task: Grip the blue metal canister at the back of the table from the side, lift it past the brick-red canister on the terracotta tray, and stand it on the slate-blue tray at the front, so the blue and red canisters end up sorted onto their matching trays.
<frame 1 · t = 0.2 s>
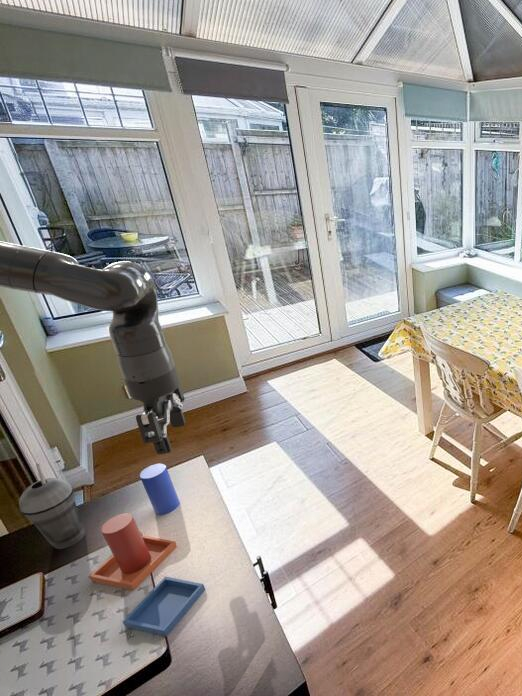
hand: (172, 438, 83), 21 cm above the table, tool pointing down, fingers open, 8 cm apart
terracotta tray: (137, 564, 80), on the table
blue tray: (167, 609, 73), on the table
blue canister: (168, 508, 92), on the table
red canister: (136, 563, 80), resting on terracotta tray
beverage cup: (70, 541, 85), on the table
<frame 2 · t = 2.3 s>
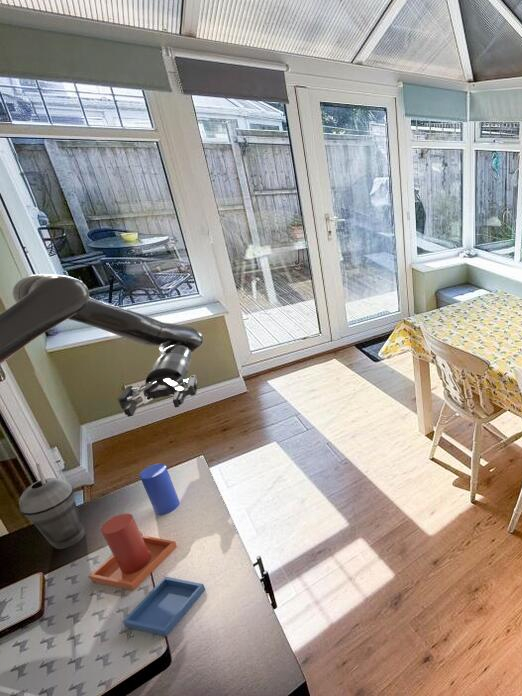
hand: (152, 408, 93), 20 cm above the table, tool horizontal, fingers open, 8 cm apart
nothing on the table moved.
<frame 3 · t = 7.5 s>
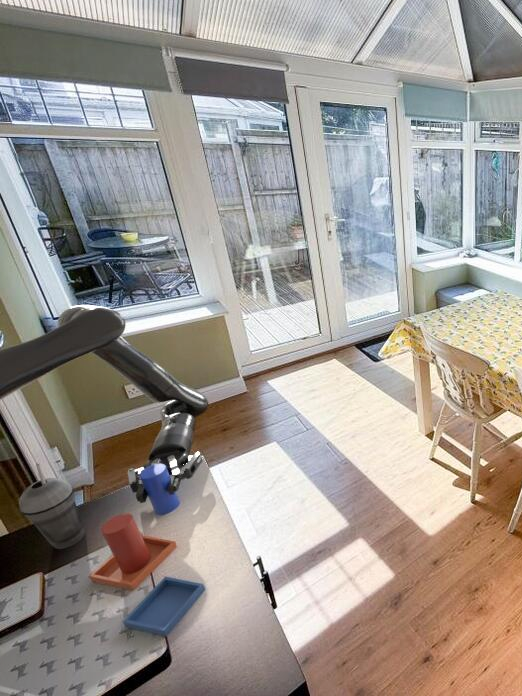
hand: (156, 495, 88), 7 cm above the table, tool horizontal, fingers closed on blue canister, 4 cm apart
blue canister: (168, 508, 92), on the table, touching gripper
everything else where it was.
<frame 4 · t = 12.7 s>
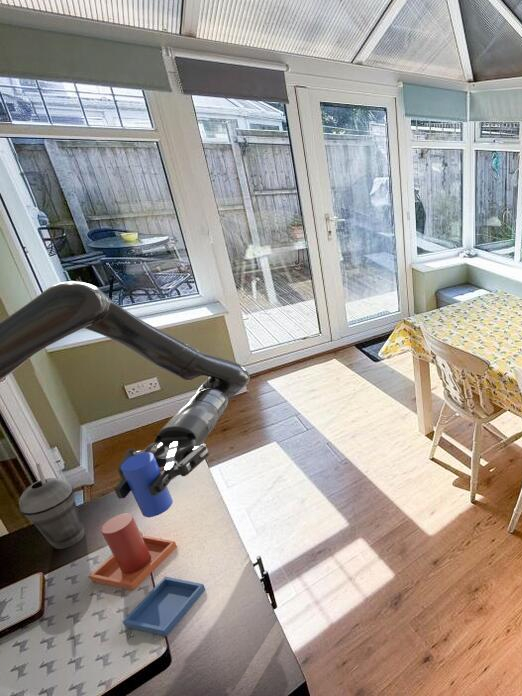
hand: (136, 493, 70), 21 cm above the table, tool horizontal, fingers closed on blue canister, 4 cm apart
blue canister: (157, 507, 75), point 15 cm above the table, touching gripper
everything else where it was.
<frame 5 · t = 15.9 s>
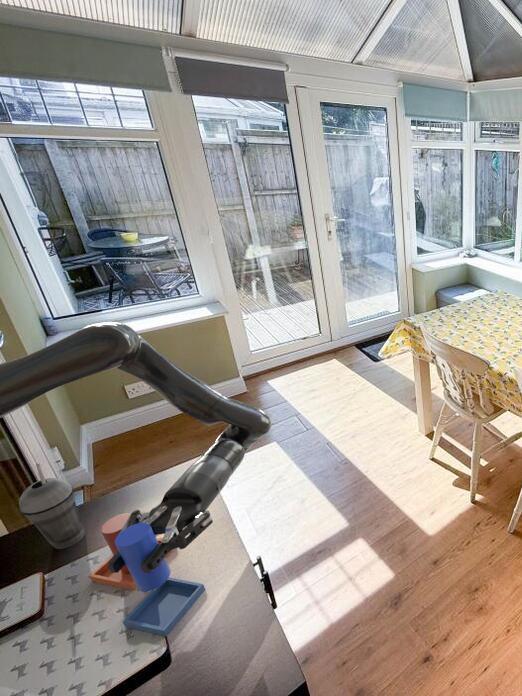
hand: (128, 569, 65), 15 cm above the table, tool horizontal, fingers closed on blue canister, 4 cm apart
blue canister: (154, 578, 70), point 8 cm above the table, touching gripper
everything else where it was.
when the fingers open (7 cm above the table, at t = 18.3 s): blue canister stays where it is, resting on blue tray.
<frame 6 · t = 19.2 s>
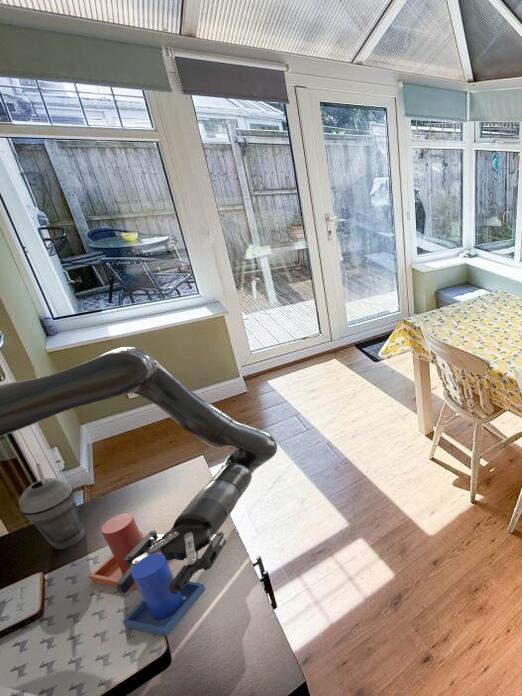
hand: (146, 590, 69), 8 cm above the table, tool horizontal, fingers open, 8 cm apart
blue canister: (167, 606, 73), resting on blue tray
everything else where it was.
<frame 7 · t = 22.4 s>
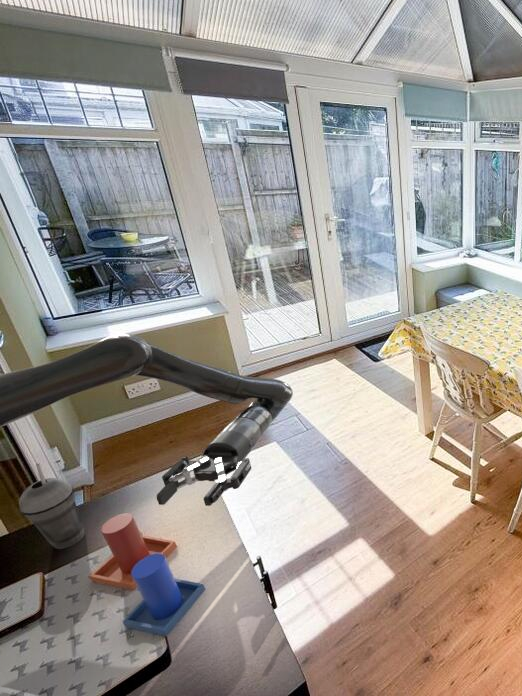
hand: (183, 502, 76), 15 cm above the table, tool horizontal, fingers open, 8 cm apart
nothing on the table moved.
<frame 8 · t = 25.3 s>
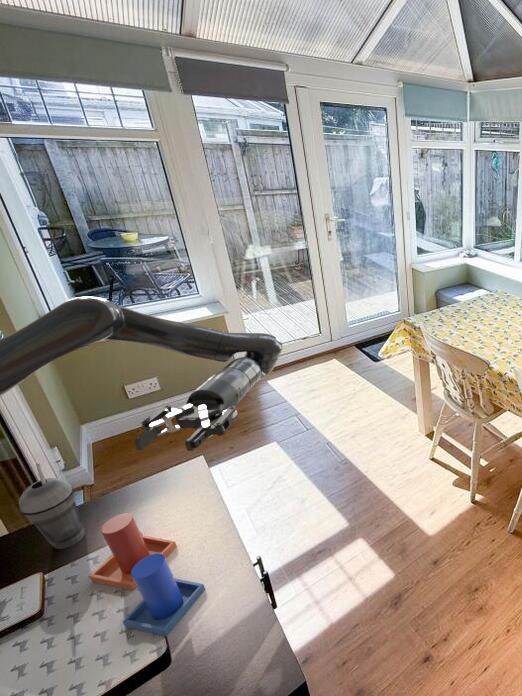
hand: (163, 446, 71), 28 cm above the table, tool horizontal, fingers open, 8 cm apart
nothing on the table moved.
at the end: blue canister 0.1 cm off-centre in the blue tray, point 0.5 cm above the blue tray's base; blue canister tilted 0°; red canister inside the target area in the terracotta tray (0.0 cm from its centre), point 0.5 cm above the terracotta tray's base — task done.
